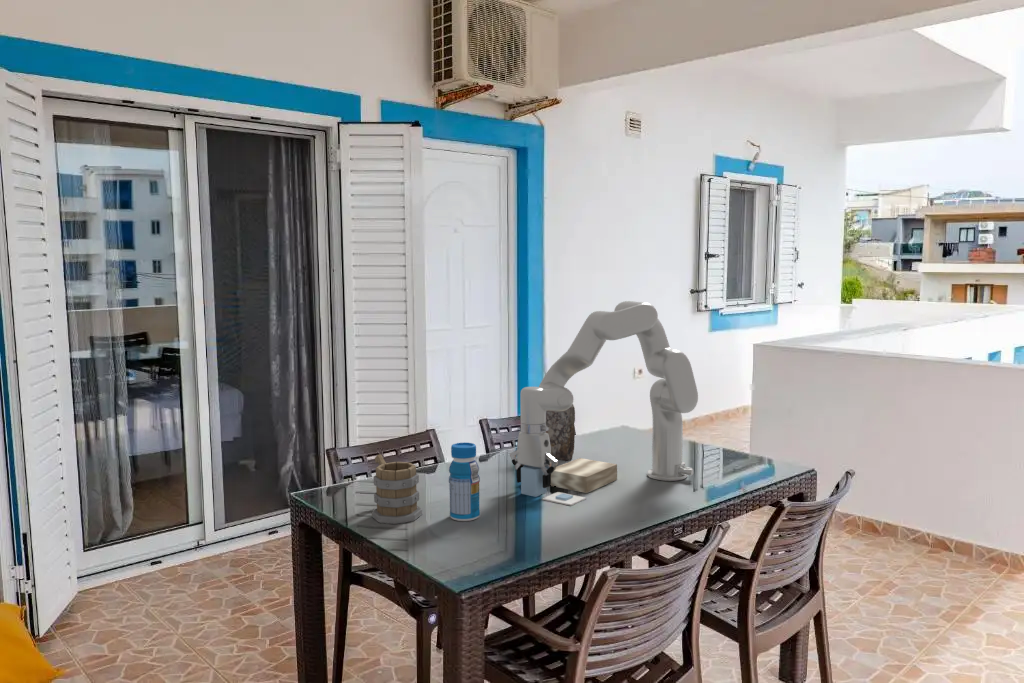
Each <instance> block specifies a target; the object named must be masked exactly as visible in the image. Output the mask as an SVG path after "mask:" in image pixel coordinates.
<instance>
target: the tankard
mask: <svg viewBox="0 0 1024 683" xmlns="http://www.w3.org/2000/svg"><path fill="white" fill-rule="evenodd" d="M374 460H375V463H376V464H377V463H378V466H376V467H375V475H374V476H373V485H374V486H375V488H376V492H375V493H374V494H373V502H374V503H375V504H376V509H374V510H372V512H371V517H372V518H373V519H374V520H375V521H377V522H378V523H380V524H390V525H398V524H404V523H410V522H415V521H416V520H417V519H418V518H420V516H422V515H423V509H422V508H421V507H420V506H418V501H419V500H420V492H419V491H418V490H417V485H418V484H419V483H420V478H419V474H418V473H417V466H416V464H413V463H412V462H407V461H393V462H386V461H385V459H384V457H383V455H382V454H380V453H379V454H377V455H376V456H375V457H374Z"/></svg>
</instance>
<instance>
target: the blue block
mask: <svg viewBox="0 0 1024 683" xmlns="http://www.w3.org/2000/svg"><path fill="white" fill-rule="evenodd" d="M545 468H546V467H545ZM543 475H544V473H543V471H542V469H541V468H537V467H532V466H526V465H524V466H523V467H521V482H520V494H522V495H526V496H531V497H535V498H537V497H539V496H542V495H543V494H544V495H545V494H546V492H548V491H547V490H548V489H547V488H548V487H547V488H543ZM541 494H542V495H541Z"/></svg>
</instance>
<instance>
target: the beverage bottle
mask: <svg viewBox="0 0 1024 683" xmlns="http://www.w3.org/2000/svg"><path fill="white" fill-rule="evenodd" d="M450 455H451V458H452V461H451V463H450V465H449V468H448V473H449V474H450V475H449V476H448V483H449V484H448V486H449V488H448V489H449V518H451V519H452V520H453V521H457V522H470V521H474V520H477V519H479V518H480V516H481V515H480V514H481V512H480V511H481V510H480V481H481V477H480V474H479V472H480V467H479V464H478V462H477V460H476V459H475V458H476V457H477V445H476V444H475V443H472V442H457V443H453V444H451V447H450Z"/></svg>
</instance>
